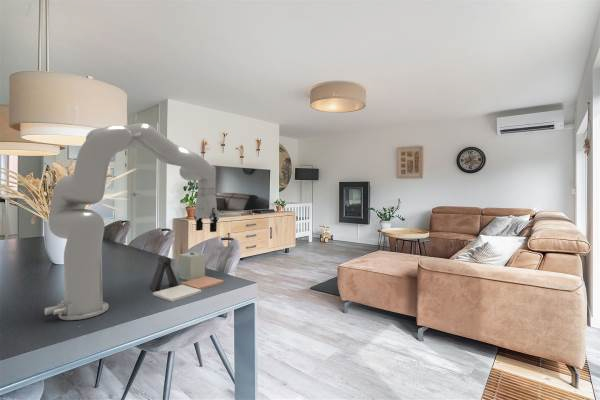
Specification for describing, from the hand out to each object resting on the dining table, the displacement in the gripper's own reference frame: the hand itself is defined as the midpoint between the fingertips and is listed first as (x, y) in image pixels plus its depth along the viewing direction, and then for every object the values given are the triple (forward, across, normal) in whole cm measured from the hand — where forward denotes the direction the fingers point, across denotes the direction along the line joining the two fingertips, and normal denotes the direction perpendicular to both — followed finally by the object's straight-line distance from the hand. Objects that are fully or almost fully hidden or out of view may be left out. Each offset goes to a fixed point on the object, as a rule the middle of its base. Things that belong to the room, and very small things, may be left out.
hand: (206, 231), depth 140 cm
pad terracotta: (+20, +11, -10) cm, 24 cm away
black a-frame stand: (+20, +4, -22) cm, 30 cm away
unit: (+20, 0, -7) cm, 21 cm away
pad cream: (+20, +14, -23) cm, 33 cm away
